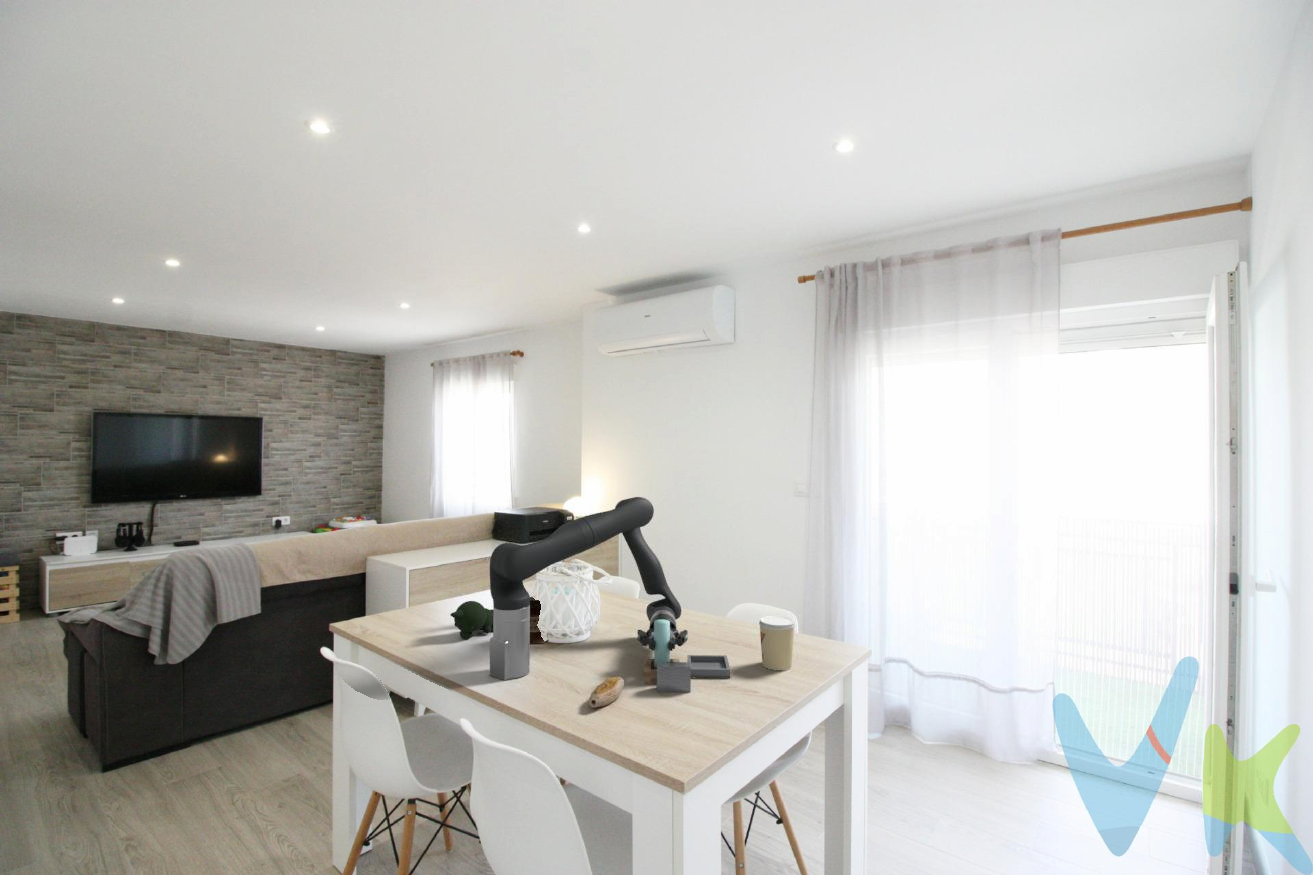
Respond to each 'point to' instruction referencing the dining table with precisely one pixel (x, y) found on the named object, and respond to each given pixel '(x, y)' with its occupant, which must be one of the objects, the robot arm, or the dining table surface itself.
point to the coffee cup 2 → (777, 642)
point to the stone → (606, 692)
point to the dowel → (661, 641)
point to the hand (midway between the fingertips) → (661, 646)
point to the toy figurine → (472, 619)
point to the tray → (709, 666)
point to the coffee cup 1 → (535, 621)
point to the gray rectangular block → (673, 677)
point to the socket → (652, 671)
